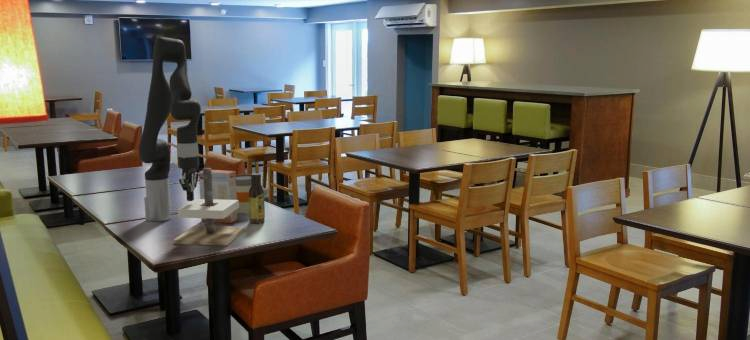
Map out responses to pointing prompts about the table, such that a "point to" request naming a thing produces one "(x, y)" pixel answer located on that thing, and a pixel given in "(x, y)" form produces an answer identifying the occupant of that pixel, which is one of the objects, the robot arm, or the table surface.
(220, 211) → the off-white slab
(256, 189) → the sauce bottle
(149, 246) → the table surface
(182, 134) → the robot arm
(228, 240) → the pipe stand
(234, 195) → the cracker box
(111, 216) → the table surface
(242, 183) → the reusable coffee cup
